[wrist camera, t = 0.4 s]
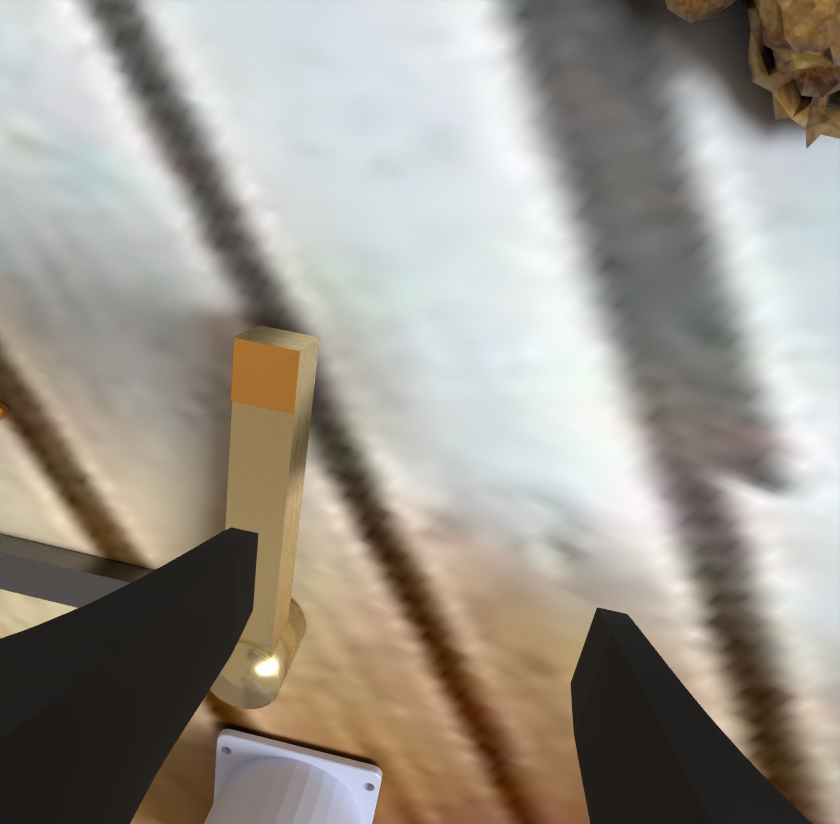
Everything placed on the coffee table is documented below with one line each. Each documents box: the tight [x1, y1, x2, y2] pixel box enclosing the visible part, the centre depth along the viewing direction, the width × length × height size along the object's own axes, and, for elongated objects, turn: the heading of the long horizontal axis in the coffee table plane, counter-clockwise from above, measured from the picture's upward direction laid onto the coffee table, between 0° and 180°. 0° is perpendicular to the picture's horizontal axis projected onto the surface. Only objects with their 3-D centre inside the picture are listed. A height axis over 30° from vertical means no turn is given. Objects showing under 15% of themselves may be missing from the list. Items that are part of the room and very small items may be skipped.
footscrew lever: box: [210, 325, 320, 709], centre depth 20 cm, size 14×3×3 cm, turn 170°
